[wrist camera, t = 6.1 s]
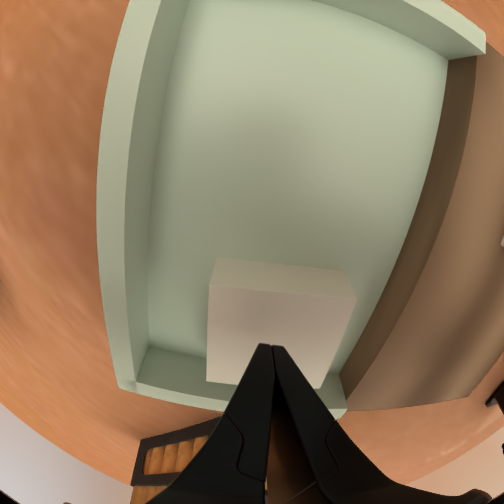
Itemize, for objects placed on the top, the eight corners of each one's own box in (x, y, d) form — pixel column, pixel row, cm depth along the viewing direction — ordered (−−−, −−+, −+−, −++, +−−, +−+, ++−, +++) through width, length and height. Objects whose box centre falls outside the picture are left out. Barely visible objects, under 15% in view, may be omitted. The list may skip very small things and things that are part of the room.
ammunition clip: (226, 414, 17) (213, 577, 6) (244, 424, 17) (238, 577, 6) (140, 439, 20) (114, 549, 9) (156, 448, 20) (135, 554, 9)
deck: (553, 143, 8) (580, 152, 6) (454, 373, 15) (467, 396, 13) (442, 43, 7) (477, 34, 5) (330, 376, 15) (338, 411, 12)
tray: (442, 43, 7) (485, 32, 4) (330, 376, 15) (339, 418, 12) (179, -27, 6) (157, -63, 3) (136, 346, 14) (118, 387, 11)
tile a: (342, 270, 11) (357, 298, 9) (313, 357, 13) (319, 388, 11) (216, 256, 11) (209, 284, 9) (211, 349, 13) (206, 381, 11)
